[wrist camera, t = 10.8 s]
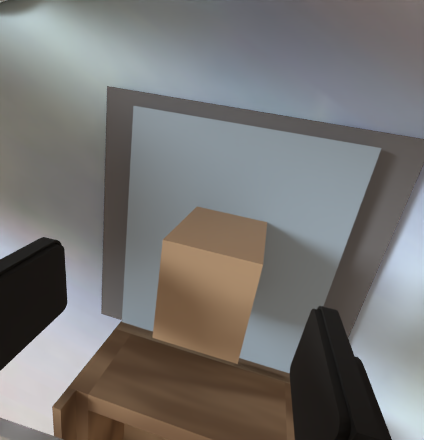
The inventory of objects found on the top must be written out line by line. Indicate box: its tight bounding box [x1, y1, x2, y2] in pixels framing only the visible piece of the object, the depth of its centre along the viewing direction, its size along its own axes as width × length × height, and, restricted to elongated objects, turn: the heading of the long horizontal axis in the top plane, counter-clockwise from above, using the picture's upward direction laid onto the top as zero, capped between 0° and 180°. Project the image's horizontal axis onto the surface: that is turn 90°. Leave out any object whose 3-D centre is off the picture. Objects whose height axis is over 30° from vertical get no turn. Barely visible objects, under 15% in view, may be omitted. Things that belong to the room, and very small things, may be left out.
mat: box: [101, 86, 424, 337], centre depth 17 cm, size 16×17×1 cm
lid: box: [122, 106, 381, 373], centre depth 14 cm, size 14×12×6 cm
